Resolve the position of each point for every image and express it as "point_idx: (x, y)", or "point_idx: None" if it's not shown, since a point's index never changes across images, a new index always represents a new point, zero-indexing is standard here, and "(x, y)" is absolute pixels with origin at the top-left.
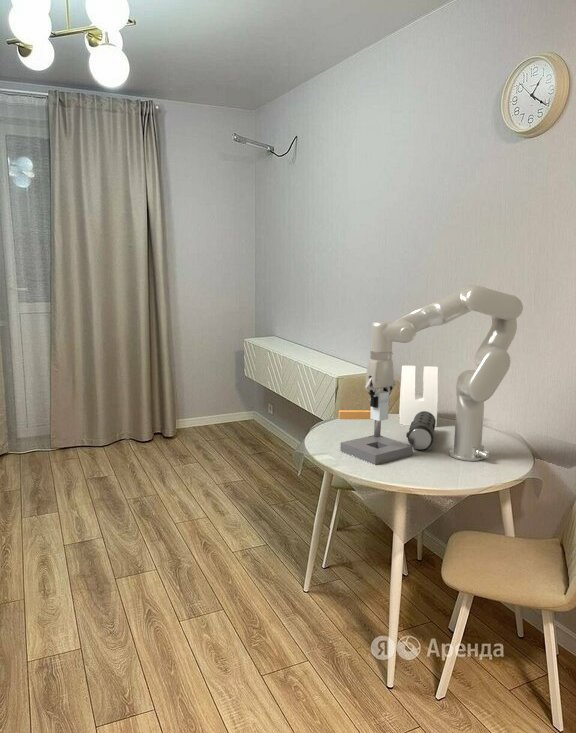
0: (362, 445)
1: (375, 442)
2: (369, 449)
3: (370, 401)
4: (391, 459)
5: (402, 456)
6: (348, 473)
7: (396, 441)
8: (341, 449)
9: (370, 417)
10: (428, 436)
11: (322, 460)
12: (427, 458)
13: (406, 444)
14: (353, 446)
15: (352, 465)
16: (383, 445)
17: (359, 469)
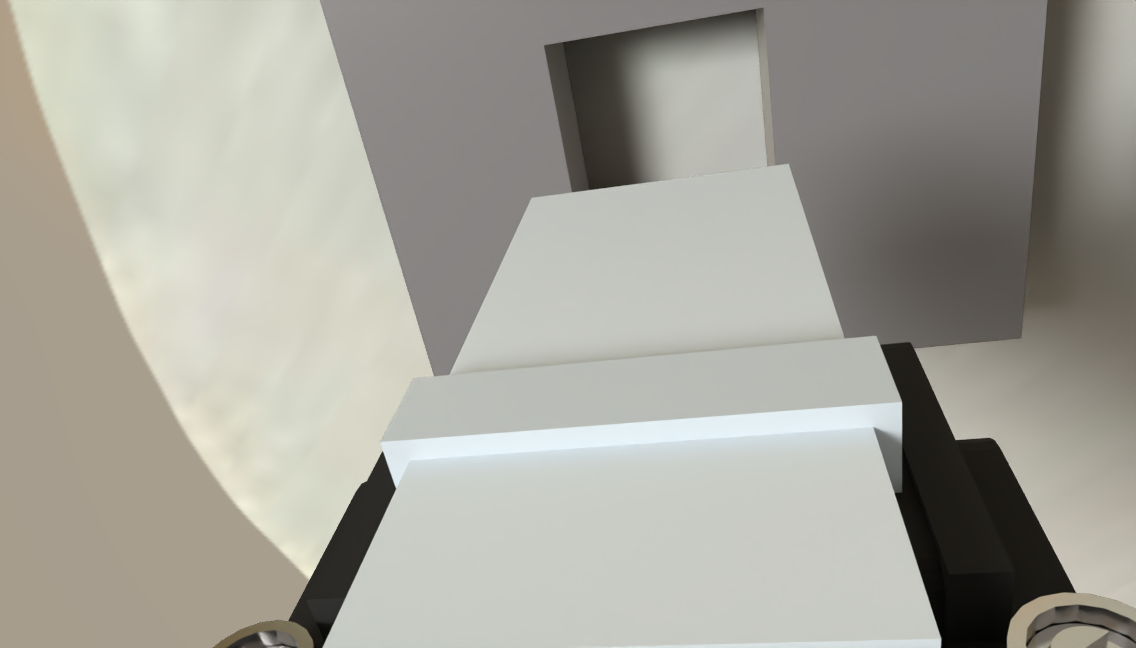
0: (481, 66)
1: (729, 11)
2: (478, 230)
3: (380, 460)
4: None
5: None
6: (167, 393)
7: (1007, 114)
8: None
9: (529, 206)
10: None
11: (25, 20)
12: (1028, 416)
13: (1006, 269)
14: (355, 52)
15: (266, 266)
16: (769, 121)
17: (284, 365)
